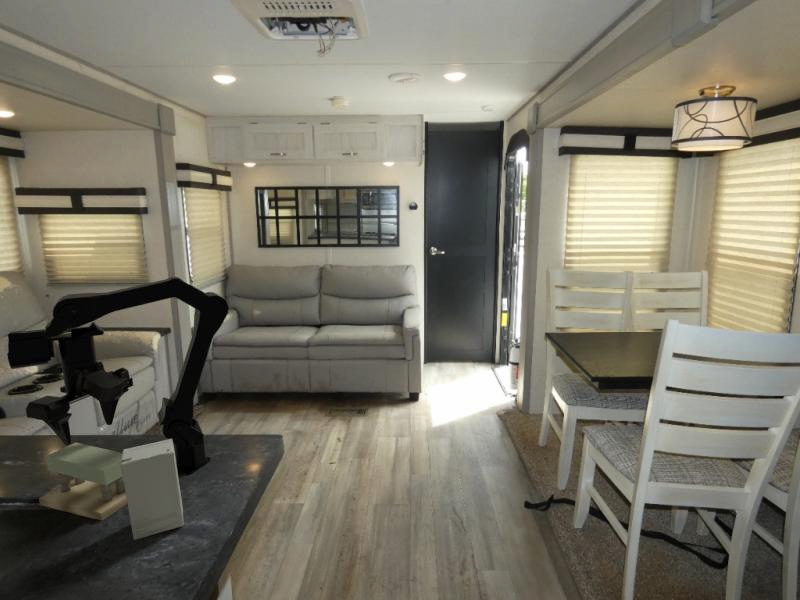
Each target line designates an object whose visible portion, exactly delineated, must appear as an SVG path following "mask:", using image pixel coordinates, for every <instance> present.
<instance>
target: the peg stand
mask: <svg viewBox="0 0 800 600" xmlns="http://www.w3.org/2000/svg"><path fill="white" fill-rule="evenodd" d="M57 474H58V481H59V482H58V483H59V486H58V487H57V488H55V489H52V490H50V491H49V492H48V493H45V494H44V495H41V496H40V497H38V500H39V502H38V503H39V505H40V506H42V507H45V508H50V509H55V510H58V511H61V512H67V513H71V514H74V515H78V516H83V517H86V518H90V519H95V520H98V521H103V520H105V519H107V518H108V517H109V516H111V515H113V514H114V513H116V512H117V511H119V510H121V508H123V507H125V506H126V505H128V504H127V498H126V493H125V487H124V481H123V476H122V477H120V478H118V479H117V480H115V481H113V482H111V483H110V484H108V485H106V486H105V485H101V484H97V483H94V482H90V481H86V480H83V479H79V478H75V477H74V478H73V479H71V480H70V476H68V475H64V474H60V473H57Z"/></svg>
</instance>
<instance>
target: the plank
mask: <svg viewBox="0 0 800 600" xmlns="http://www.w3.org/2000/svg"><path fill="white" fill-rule="evenodd" d="M122 456H123V452H119V451H116V450H110V449H106V448H101V447H97V446H93V445H88V444H84V443H81V442H80V443H79V442H73V443H71V445H69V446H68V445H66V446H65V447H63V448H61V449H58V450H56V451H54V452H51V453H50V454H47V455H46V456H45V461H46V467H47V470H48V471H49V472H53V473H56V474H58V473H60V474H64V475H68V476H69V477H71V478H74V479H75V478H79V479H83V480H86V481H90V482H94V483H97V484H101V485H105V486H106V485H108V484H110V483H111V482H113V481H115V480H117V479H118V478H120V477H122V476H123V475H122V470H121V461H122Z"/></svg>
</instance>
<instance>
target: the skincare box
mask: <svg viewBox="0 0 800 600" xmlns="http://www.w3.org/2000/svg"><path fill="white" fill-rule="evenodd" d="M122 453H123V456H122V461H121V470H122V475H123V481H124V487H125V493H126V498H127V504H126V505H127V508H128V515H129V519H130V520H129V521H130V526H131V532H132V537H133V540H134V541H136V540H139V539H142V538H146V537H150V536H153V535H156V534H160V533H163V532H166V531H171V530H174V529H177V528H180V527H183V526H184V524H185V523H184V508H183V500H182V495H181V494H182V493H181V487H180V482H179V481H180V480H179V474H178V471H177V466H176V458H175V451H174V446H173V441H172V439H164V440H161V441H157V442H152V443H146V444H143V445H137V446H134V447H128V448H125V449H123V451H122Z"/></svg>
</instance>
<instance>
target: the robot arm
mask: <svg viewBox="0 0 800 600" xmlns="http://www.w3.org/2000/svg"><path fill="white" fill-rule="evenodd" d="M171 298H172V299H173V298H174V299H177V300H179V301H181V302H183V303H185V304H186V305H188V306H189V307H191V308H193V309H194V315H193V332H192V335H191V338H190V342H189V345H188V348H187V351H186V354H185V356H184V357H185V358H184V361H183V363H182V367H181V370H180V373H179V377H178V380H177V382H176V383H177V384H176V387H175V389H174V391H173V393H172V395H171V396H170V397H169V398H168V397H165V396H164V397H162V400H161V405H160V406H161V407H160V409H159V411H158V412H157V414H156V415H157V418H158V422H159V425H160V427H161V431H162V434H163V437H165V438H166V440H168V439H172V441H173V446H174V451H175V458H176V466H177V472H181V473H186V474H193V473H194V472H196V471H197V470H199V469H200V468H202V467H203V466H205V464H207V463H209V462H210V461H212V457H210V456H206V448H205V439H204V433H203V430H202V428H201V426H200V423H199V421H198V420H197V419H195V418H194V409H195V408H194V404H195V403H194V402H195V396H196V393H197V389H198V386H199V384H200V379H201V377H202V373H203V371H204V367H205V364H206V361H207V358H208V355H209V352H210V348H211V345H212V342H213V338H214V336H215V335H216V334H217V332H218V331H219V330H220V329H221V327H222V325H223V324H224V322H225V320H226V318H227V315H228V313H229V309H230V308H229V304H228V302H227V300H226V299H225V298H223V297H222V296H221V295H219V294H218V293H215V292H214V291H206V292H204V291H202V289H199V288H197V287H195V286H193V285H191V284H189V283H187V282H186V281H184V280H183V279H182V278H180V277H178V276H169V278H166V279H162V280H157V281H153V282H148V283H144V284H140V285H134V286H130V287H127V288H126V287H125V288H121V289H116V290H111V291H108V292H106V291H105V292H84V293H83V292H82V293H70V294H66V295H63V296H61V297H60V298H59V299H58V301H57V302H56V303H55V305H54V307H53V310H52V319H51V320H50V322H49V321H48V322H47V323H46V326H45V327H44V328H42V329H34V330H32V329H31V330H13V331H9V333H8V334H7V339H8V341H7V342H8V343H7V351H8V352H7V360H8V361H7V362H8V365H9V367H10V369H11V370H14V369H16V370H17V369H22V368H29V367H31V368H32V367H36V366H44V365H49V364H51V361H52V359H56V358H57V348H56V347H57V346H56V342H55V341H57V342H58V343H57V344H58V350H59V355H60V356H59V357H60V364H61V365H59V366H57V367H56V369H57V373H61V374H62V377H63V382H64V384H63V385H62V386H61V387H59V390H60V393H64V394H65V395H62V396H53V395H45V396H42V397H40V398H37V399H34V400H31V401H30V402H28V404H27V405H26V407H25V413H26V418H29V419H35V420H38V421H40V420H41V421H42V422H44V423H45V424H46V425H47V426H48V427H49V428H51V429H50V430H52V432H54V434H55V435H56V436H57V437H58V438H59V440H61V442H62V443H63V444H64V445H65V446H69V445H71V444H72V436H71V429H70V424H69V420H70V419H71V417H72V416H73V413H72V412H71V413H70V412H69V411H70V410H71V405H72V404H74V403H77V402H79V401H81V400H85V399H87V398H88V397H92V398H94V399H96V401H98V403H99V405H100V408H101V412H102V416H103V419H104V420H103V421H105V424H106V425H107V426H111V425H112V424H113V423H114V422H113V421H114V419H115V414H116V412H117V411H116V410H117V407H118V404H119V402H120V400H121V397H123V395H124V394H125V393H128V391H129V388H131V387H134V381H133V380H134V378H133V376H131V374H130V372H129V369H127V368H125V367H120V368H117V369H115V370H114V371H113V370H111V371H107V370H105V366H104V363H103V362H102V361H98V360H97V353H96V346H95V338H94V337H95V336H96V337H98V336H103V335H104V333H105V330H104V328H103V327H101V326H99V325H97V324H96V322H94V321H96V320H99V319H102V317H104V316H106V315H109V314H112V313H114V312H118V311H119V312H120V311H122V310H126V309H130V308H134V307H138V306H143V305H147V304H151V303H155V302H159V301H160V302H161V301H164V300H168V299H171ZM87 324H89V325H88V326H84V325H87ZM82 326H83V327H82ZM68 329H70V332H66V333H64V332H65V331H67V330H68Z"/></svg>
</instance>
